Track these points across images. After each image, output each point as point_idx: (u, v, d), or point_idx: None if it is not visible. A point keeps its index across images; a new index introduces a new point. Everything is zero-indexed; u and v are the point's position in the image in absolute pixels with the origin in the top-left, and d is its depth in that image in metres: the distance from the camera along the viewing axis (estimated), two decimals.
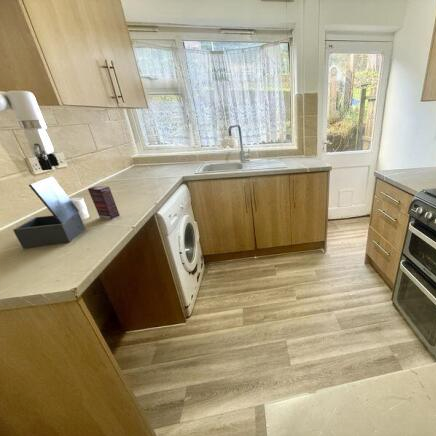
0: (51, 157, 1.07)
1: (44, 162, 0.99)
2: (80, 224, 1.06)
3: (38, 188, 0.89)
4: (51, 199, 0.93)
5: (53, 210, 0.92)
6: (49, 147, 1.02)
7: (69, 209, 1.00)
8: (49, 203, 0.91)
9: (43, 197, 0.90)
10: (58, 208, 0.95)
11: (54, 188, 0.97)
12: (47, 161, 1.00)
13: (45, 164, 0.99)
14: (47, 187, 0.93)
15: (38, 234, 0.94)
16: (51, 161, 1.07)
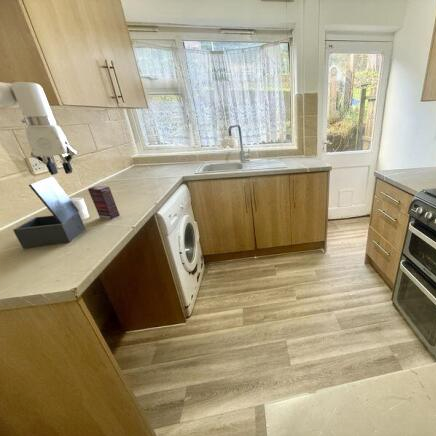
0: (52, 164, 0.91)
1: (69, 164, 0.93)
2: (80, 224, 1.06)
3: (38, 188, 0.89)
4: (51, 199, 0.93)
5: (53, 210, 0.92)
6: None
7: (69, 209, 1.00)
8: (49, 203, 0.91)
9: (43, 197, 0.90)
10: (58, 208, 0.95)
11: (54, 188, 0.97)
12: None
13: (70, 166, 0.93)
14: (47, 187, 0.93)
15: (38, 234, 0.94)
16: (53, 168, 0.92)
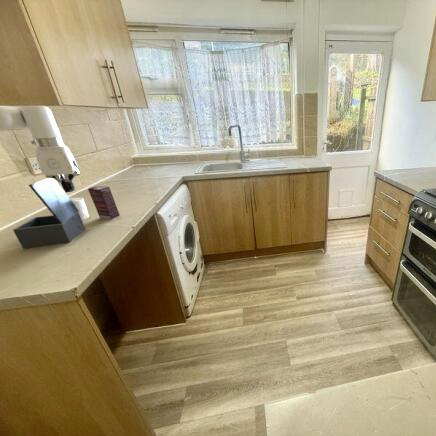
0: None
1: (71, 182, 0.95)
2: (80, 224, 1.06)
3: (38, 188, 0.89)
4: (51, 199, 0.93)
5: (53, 210, 0.92)
6: None
7: (69, 209, 1.00)
8: (49, 203, 0.91)
9: (43, 197, 0.90)
10: (58, 208, 0.95)
11: (54, 188, 0.97)
12: None
13: (72, 184, 0.96)
14: (47, 187, 0.93)
15: (38, 234, 0.94)
16: None
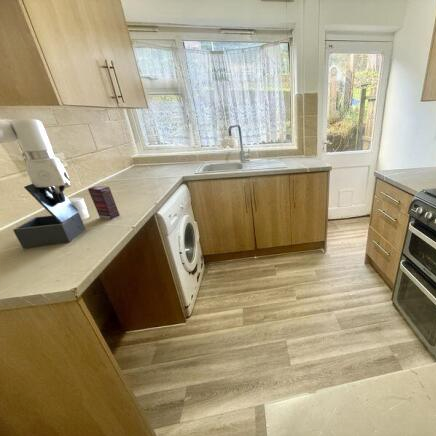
0: None
1: (62, 194, 0.96)
2: (80, 224, 1.06)
3: (34, 189, 0.89)
4: (48, 200, 0.93)
5: (51, 211, 0.92)
6: None
7: (68, 209, 1.00)
8: (46, 204, 0.91)
9: (40, 198, 0.90)
10: (56, 209, 0.95)
11: None
12: None
13: (63, 196, 0.96)
14: None
15: (38, 234, 0.94)
16: None
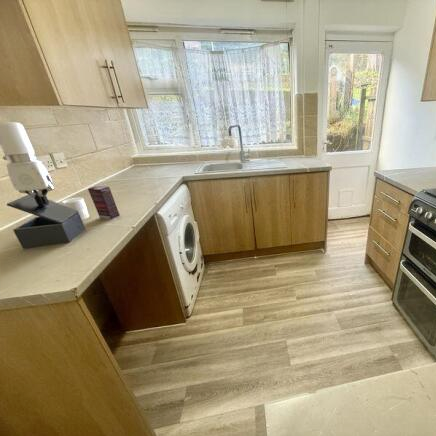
0: None
1: (45, 197, 0.95)
2: (80, 224, 1.06)
3: (18, 204, 0.90)
4: (38, 209, 0.93)
5: (45, 216, 0.92)
6: None
7: (65, 211, 1.00)
8: (37, 212, 0.92)
9: (28, 209, 0.90)
10: (51, 213, 0.95)
11: None
12: None
13: (46, 199, 0.95)
14: (29, 201, 0.94)
15: (38, 234, 0.94)
16: None
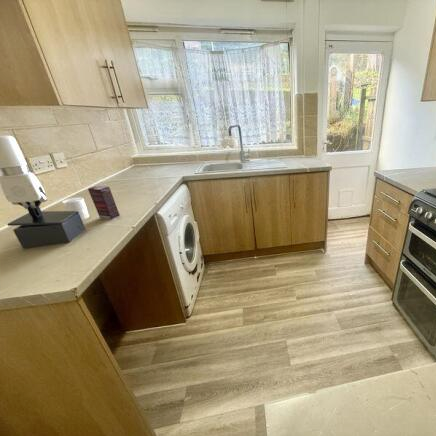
0: None
1: (38, 208, 0.96)
2: (80, 224, 1.06)
3: (18, 221, 0.92)
4: (38, 219, 0.95)
5: (44, 222, 0.93)
6: None
7: (64, 214, 1.01)
8: (36, 222, 0.93)
9: (27, 222, 0.92)
10: (50, 219, 0.95)
11: None
12: None
13: (40, 210, 0.96)
14: (28, 217, 0.96)
15: (38, 234, 0.94)
16: None
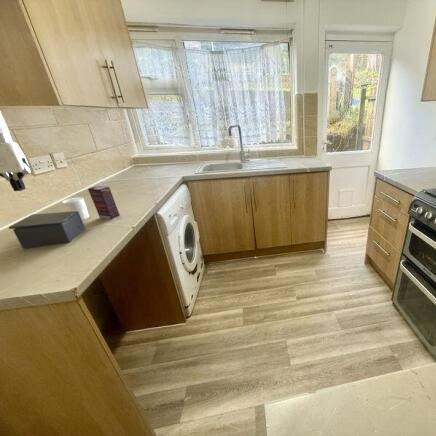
0: None
1: (21, 181, 0.91)
2: (80, 224, 1.06)
3: (19, 224, 0.92)
4: (38, 221, 0.95)
5: (45, 223, 0.93)
6: None
7: (64, 215, 1.01)
8: (37, 223, 0.93)
9: (28, 224, 0.92)
10: (50, 220, 0.96)
11: (38, 216, 0.99)
12: None
13: (22, 183, 0.92)
14: (29, 219, 0.96)
15: (38, 234, 0.94)
16: None
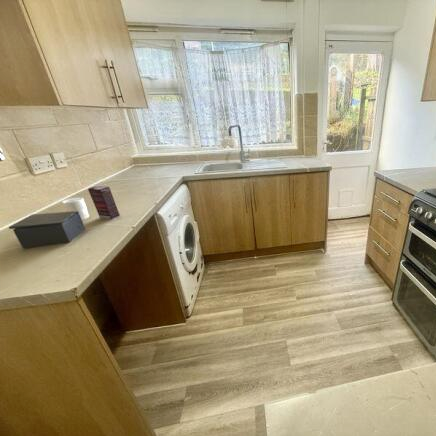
0: None
1: None
2: (80, 224, 1.06)
3: (19, 224, 0.92)
4: (38, 221, 0.95)
5: (45, 223, 0.93)
6: None
7: (64, 215, 1.01)
8: (37, 223, 0.93)
9: (28, 224, 0.92)
10: (50, 220, 0.96)
11: (38, 216, 0.99)
12: None
13: None
14: (29, 219, 0.96)
15: (38, 234, 0.94)
16: None
